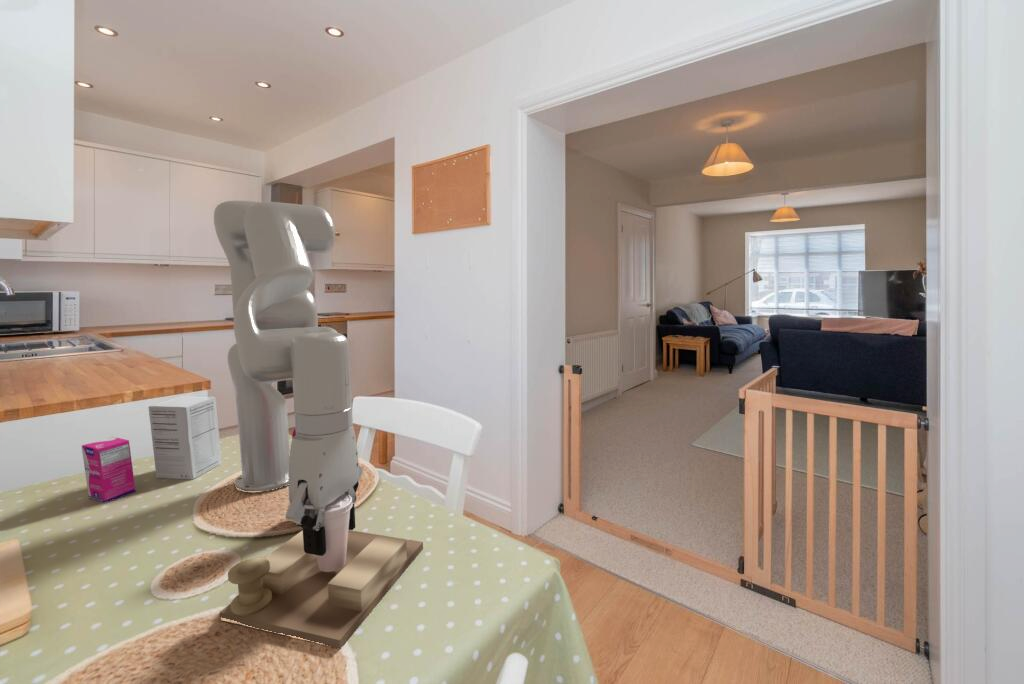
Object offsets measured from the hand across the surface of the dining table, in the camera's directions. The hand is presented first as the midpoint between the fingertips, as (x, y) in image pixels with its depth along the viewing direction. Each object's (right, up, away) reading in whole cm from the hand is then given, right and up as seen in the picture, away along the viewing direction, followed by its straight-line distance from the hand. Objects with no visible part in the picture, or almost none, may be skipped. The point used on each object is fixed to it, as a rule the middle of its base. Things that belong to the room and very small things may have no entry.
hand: (330, 539), depth 68 cm
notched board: (0, -6, +1) cm, 6 cm away
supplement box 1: (-56, -3, +29) cm, 63 cm away
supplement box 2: (-49, -2, +41) cm, 64 cm away
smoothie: (0, -4, +1) cm, 4 cm away
